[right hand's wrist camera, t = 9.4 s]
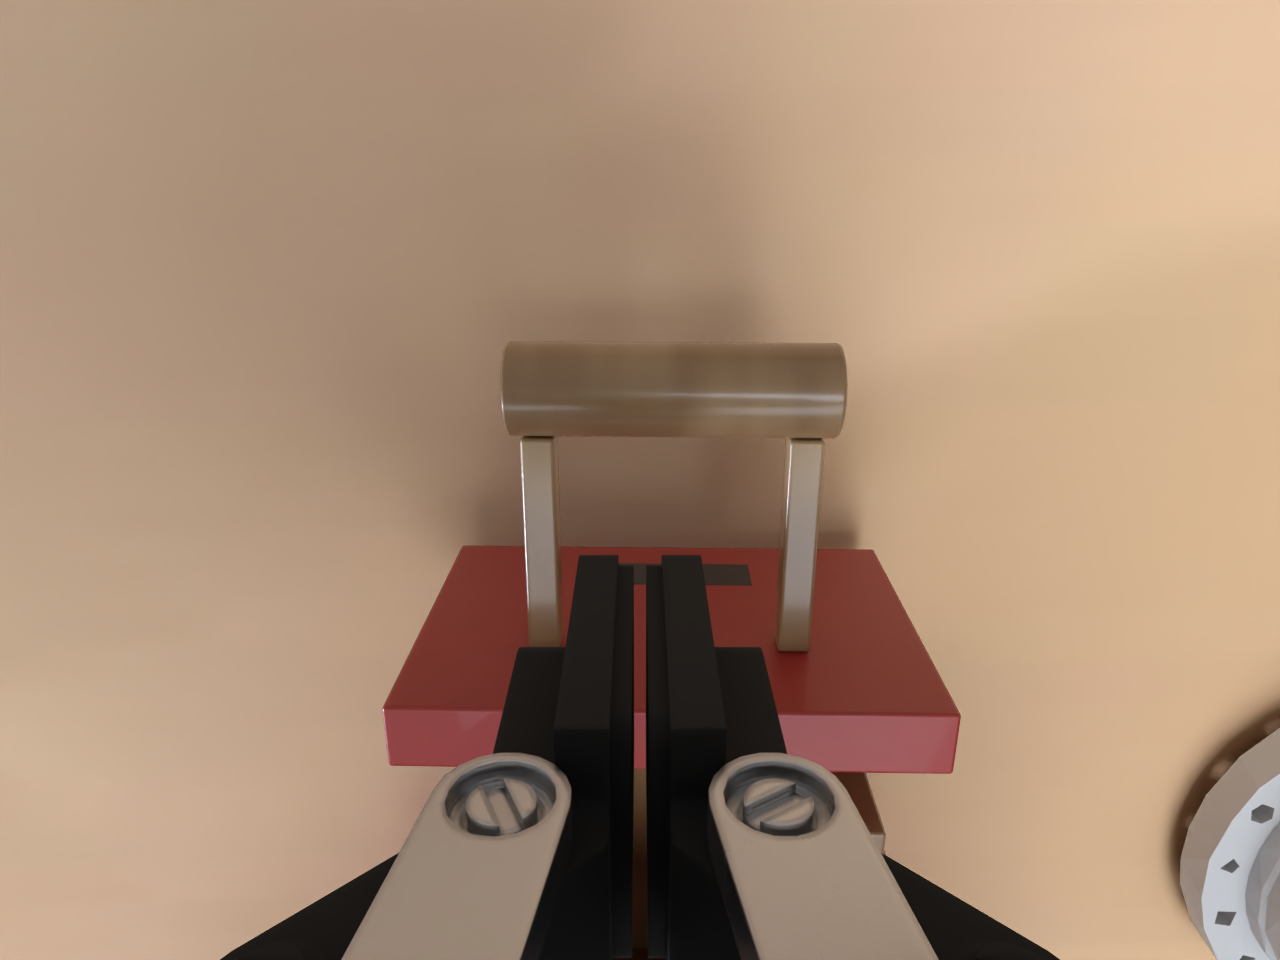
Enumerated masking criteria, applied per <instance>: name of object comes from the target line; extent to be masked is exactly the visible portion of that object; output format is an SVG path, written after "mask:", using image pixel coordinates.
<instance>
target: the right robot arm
mask: <svg viewBox="0 0 1280 960" xmlns="http://www.w3.org/2000/svg"><path fill="white" fill-rule="evenodd" d="M633 822H634V565H619V558H618V555H579V559H578V565H577V572H576V579H575V586H574V593H573V599H572V606H571V613H570V620H569V627H568V633H567V640H566V647H520V648H519V649H518V652H517V655H516V659H515V663H514V667H513V671H512V676H511V680H510V684H509V688H508V692H507V696H506V700H505V705H504V709H503V713H502V717H501V721H500V725H499V730H498V734H497V738H496V742H495V746H494V750H493V754H491V755H486V756H481V757H478V758H475V759H473V760H470V761H468V762H466V763H463V764H461V765H459V766H458V767H456V768H455V769H453V770H452V771H451V772H449V773H448V774H446V775H445V776H444V777H443V778H442V780H441V781H440V782H439V783H438V785H437V786H436V787H435V788H434V790H433V792H432V793H431V795H430V797H429V799H428V801H427V803H426V804H425V806H424V808H423V810H422V812H421V814H420V816H419V817H418V819H417V821H416V823H415V825H414V827H413V828H412V830H411V832H410V834H409V836H408V838H407V839H406V841H405V843H404V845H403V847H402V849H401V851H400V852H399V853H398V854H396V855H394V856H393V857H391V858H389V859H388V860H386V861H384V862H383V863H381V864H379V865H377V866H376V867H374V868H372V869H371V870H369V871H367V872H366V873H364V874H362V875H360V876H359V877H357V878H355V879H354V880H352V881H350V882H349V883H347V884H345V885H343V886H342V887H340V888H338V889H337V890H335V891H333V892H332V893H330V894H328V895H326V896H325V897H323V898H321V899H320V900H318V901H316V902H315V903H313V904H311V905H309V906H308V907H306V908H304V909H303V910H301V911H299V912H298V913H296V914H294V915H292V916H291V917H289V918H287V919H286V920H284V921H282V922H281V923H279V924H277V925H275V926H274V927H272V928H270V929H269V930H267V931H265V932H264V933H262V934H260V935H258V936H257V937H255V938H253V939H252V940H250V941H248V942H247V943H245V944H243V945H241V946H240V947H238V948H236V949H235V950H233V951H231V952H230V953H229V954H227V955H226V956H225V957H223V958H222V959H220V960H614V958H632V927H633ZM646 822H647V927H648V958H666V960H1060V959H1058V958H1057V957H1055V956H1054V955H1053V954H1051V953H1050V952H1049V951H1047V950H1045V949H1044V948H1042V947H1040V946H1039V945H1037V944H1035V943H1033V942H1032V941H1030V940H1028V939H1027V938H1025V937H1023V936H1022V935H1020V934H1018V933H1016V932H1015V931H1013V930H1011V929H1010V928H1008V927H1006V926H1005V925H1003V924H1001V923H999V922H998V921H996V920H994V919H993V918H991V917H989V916H988V915H986V914H984V913H982V912H981V911H979V910H977V909H976V908H974V907H972V906H971V905H969V904H967V903H965V902H964V901H962V900H960V899H959V898H957V897H955V896H954V895H952V894H950V893H948V892H947V891H945V890H943V889H942V888H940V887H938V886H937V885H935V884H933V883H931V882H930V881H928V880H926V879H925V878H923V877H921V876H920V875H918V874H916V873H914V872H913V871H911V870H909V869H908V868H906V867H904V866H903V865H901V864H899V863H897V862H896V861H894V860H892V859H891V858H889V857H887V856H886V855H884V854H882V853H881V852H880V851H879V849H878V847H877V845H876V843H875V841H874V839H873V838H872V836H871V834H870V832H869V830H868V828H867V827H866V825H865V823H864V821H863V819H862V817H861V816H860V814H859V812H858V810H857V808H856V806H855V804H854V803H853V801H852V799H851V797H850V795H849V793H848V792H847V790H846V788H845V787H844V786H843V785H842V783H841V782H840V781H839V780H838V778H837V777H836V776H835V775H834V774H832V773H831V772H829V771H828V770H827V769H825V768H824V767H822V766H821V765H819V764H817V763H814V762H812V761H810V760H807V759H805V758H802V757H799V756H794V755H789V754H787V750H786V746H785V742H784V738H783V734H782V730H781V725H780V721H779V717H778V713H777V709H776V705H775V700H774V696H773V692H772V688H771V684H770V680H769V676H768V671H767V667H766V663H765V659H764V655H763V652H762V649H761V648H760V647H714V640H713V633H712V627H711V620H710V613H709V606H708V599H707V593H706V586H705V579H704V572H703V565H702V559H701V555H662V558H661V565H646Z"/></svg>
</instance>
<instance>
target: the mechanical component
mask: <svg viewBox="0 0 1280 960" xmlns="http://www.w3.org/2000/svg"><path fill="white" fill-rule="evenodd" d="M1180 886H1181V889H1182V892H1183V896H1184V899H1185V902H1186V906H1187V909H1188V912H1189V915H1190V919H1191V921H1192V923H1193V924H1194V926H1195V927H1196V929H1197V930H1198V932H1199V933H1200V935H1201V936H1202V938H1203V939H1204V941H1205V942H1206V944H1207V945H1208V947H1209V948H1210V950H1211V951H1212V953H1213V954H1214V956H1215V957H1216V959H1217V960H1280V728H1279V729H1277V730H1276V731H1275V732H1273V733H1272V734H1270V735H1269V736H1268V737H1266V738H1265V739H1263V740H1262V741H1261V742H1259V743H1258V744H1257V745H1255V746H1254V747H1252V748H1251V749H1250V750H1248V751H1247V752H1245V753H1244V754H1243V755H1241V756H1240V757H1239V758H1238V759H1237V760H1236V761H1235V763H1234V764H1233V765H1232V766H1231V767H1230V768H1229V769H1228V771H1227V772H1226V773H1225V774H1224V775H1223V776H1222V777H1221V778H1220V780H1219V781H1218V782H1217V783H1216V784H1215V785H1214V786H1213V788H1212V789H1211V790H1210V791H1209V792H1208V793H1207V794H1206V796H1205V798H1204V800H1203V802H1202V804H1201V805H1200V807H1199V809H1198V811H1197V813H1196V815H1195V817H1194V819H1193V820H1192V822H1191V824H1190V826H1189V828H1188V832H1187V836H1186V840H1185V843H1184V847H1183V851H1182V855H1181V862H1180Z"/></svg>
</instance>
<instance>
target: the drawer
mask: <svg viewBox="0 0 1280 960" xmlns="http://www.w3.org/2000/svg"><path fill="white" fill-rule="evenodd" d="M500 398H501V412H502V419H503V424H504V427H505V430H506V432H507V434H508V435H510V436H522V438H521V440H520V460H521V482H522V503H523V525H524V546H462V548H461V550H460V552H459V554H458V556H457V558H456V560H455V562H454V564H453V566H452V568H451V570H450V572H449V574H448V577H447V579H446V581H445V583H444V585H443V587H442V589H441V591H440V593H439V595H438V597H437V599H436V601H435V603H434V605H433V607H432V609H431V611H430V613H429V615H428V617H427V619H426V621H425V623H424V625H423V627H422V629H421V631H420V633H419V635H418V637H417V639H416V641H415V643H414V645H413V647H412V649H411V651H410V653H409V655H408V657H407V659H406V661H405V663H404V665H403V667H402V670H401V672H400V674H399V676H398V678H397V680H396V682H395V684H394V686H393V688H392V690H391V692H390V694H389V696H388V698H387V700H386V702H385V704H384V706H383V718H384V727H385V736H386V745H387V754H388V762H389V764H390V765H392V766H453V767H458V766H459V765H461V764H463V763H466V762H468V761H470V760H473V759H475V758H478V757H481V756H486V755H491V754H493V750H494V746H495V742H496V738H497V734H498V730H499V725H500V721H501V717H502V713H503V709H504V705H505V700H506V696H507V692H508V688H509V684H510V680H511V676H512V671H513V667H514V663H515V659H516V655H517V652H518V649H519V648H520V647H566V640H567V633H568V627H569V620H570V613H571V606H572V599H573V593H574V586H575V579H576V572H577V565H578V559H579V555H618V558H619V565H634V822H633V927H632V958H614V960H666V958H648V927H647V822H646V565H661V558H662V555H701V559H702V565H703V572H704V579H705V586H706V593H707V599H708V606H709V613H710V620H711V627H712V633H713V640H714V647H760V648H761V649H762V652H763V655H764V659H765V663H766V667H767V671H768V676H769V680H770V684H771V688H772V692H773V696H774V700H775V705H776V709H777V713H778V717H779V721H780V725H781V730H782V734H783V738H784V742H785V746H786V750H787V754H789V755H794V756H799V757H802V758H805V759H807V760H810V761H812V762H814V763H817V764H819V765H821V766H822V767H824V768H825V769H827V770H828V771H829V772H831V773H832V774H834V775H835V776H836V777H837V778H838V780H839V781H840V782H841V783H842V785H843V786H844V787H845V788H846V790H847V792H848V793H849V795H850V797H851V799H852V801H853V803H854V804H855V806H856V808H857V810H858V812H859V814H860V816H861V817H862V819H863V821H864V823H865V825H866V827H867V828H868V830H869V832H870V834H871V836H872V838H873V839H874V841H875V843H876V845H877V847H878V849H879V851H880V852H881V853H882V854H883V853H884V844H885V836H886V834H885V831H884V828H883V825H882V821H881V818H880V815H879V812H878V809H877V806H876V803H875V800H874V797H873V794H872V791H871V788H870V785H869V782H868V779H867V776H866V773H865V772H867V773H936V774H950V773H952V772H953V766H954V759H955V752H956V746H957V739H958V732H959V725H960V718H961V716H960V713H959V711H958V709H957V707H956V706H955V704H954V702H953V700H952V698H951V696H950V694H949V692H948V690H947V689H946V687H945V685H944V683H943V681H942V679H941V677H940V675H939V673H938V672H937V670H936V668H935V666H934V664H933V662H932V660H931V658H930V656H929V655H928V653H927V651H926V649H925V647H924V645H923V643H922V641H921V639H920V638H919V636H918V634H917V632H916V630H915V628H914V626H913V624H912V623H911V621H910V619H909V617H908V615H907V613H906V611H905V609H904V607H903V606H902V604H901V602H900V600H899V598H898V596H897V594H896V592H895V590H894V589H893V587H892V585H891V583H890V581H889V579H888V577H887V575H886V573H885V572H884V570H883V568H882V566H881V564H880V562H879V560H878V558H877V556H876V555H875V553H874V551H873V550H849V549H817V543H818V530H819V517H820V503H821V490H822V477H823V463H824V450H825V443H824V441H823V439H822V438H836V437H838V436H839V434H840V432H841V429H842V427H843V423H844V418H845V412H846V403H847V368H846V360H845V355H844V352H843V349H842V347H841V345H839V344H837V343H704V342H530V341H510V342H508V343H507V344H506V346H505V348H504V351H503V356H502V362H501V375H500ZM558 436H580V437H711V438H786V446H785V462H784V479H783V496H782V513H781V530H780V546H779V549H748V548H647V547H561V532H560V499H559V467H558Z"/></svg>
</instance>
